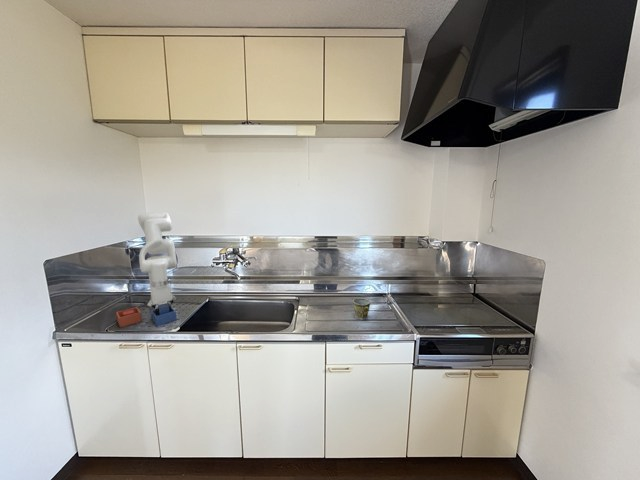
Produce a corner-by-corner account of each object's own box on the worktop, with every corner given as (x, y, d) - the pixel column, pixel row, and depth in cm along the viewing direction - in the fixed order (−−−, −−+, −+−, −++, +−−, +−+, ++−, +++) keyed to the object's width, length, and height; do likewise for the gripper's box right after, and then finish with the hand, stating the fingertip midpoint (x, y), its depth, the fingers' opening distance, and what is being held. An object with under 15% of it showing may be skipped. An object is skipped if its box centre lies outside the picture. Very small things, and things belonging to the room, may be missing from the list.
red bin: (117, 321, 156) (116, 312, 155) (138, 315, 163) (137, 306, 162) (120, 327, 148) (118, 318, 147) (141, 321, 155) (140, 312, 154)
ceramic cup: (349, 315, 163) (350, 299, 161) (364, 312, 166) (364, 297, 165) (360, 324, 151) (361, 308, 149) (376, 321, 154) (376, 305, 153)
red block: (123, 320, 156) (122, 312, 155) (133, 317, 159) (132, 309, 158) (125, 323, 152) (123, 315, 151) (135, 320, 155) (134, 312, 154)
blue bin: (152, 319, 157) (151, 310, 156) (171, 314, 164) (170, 305, 163) (156, 325, 150) (155, 316, 149) (176, 320, 157) (175, 311, 156)
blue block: (157, 313, 156) (156, 305, 155) (167, 311, 160) (166, 303, 159) (159, 316, 153) (159, 308, 152) (169, 313, 156) (168, 305, 155)
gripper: (174, 278, 162) (177, 307, 165) (141, 285, 150) (145, 315, 153) (178, 281, 156) (181, 310, 159) (144, 288, 145) (148, 320, 148)
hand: (163, 313), depth 156 cm, fingers closed on blue block, 5 cm apart
